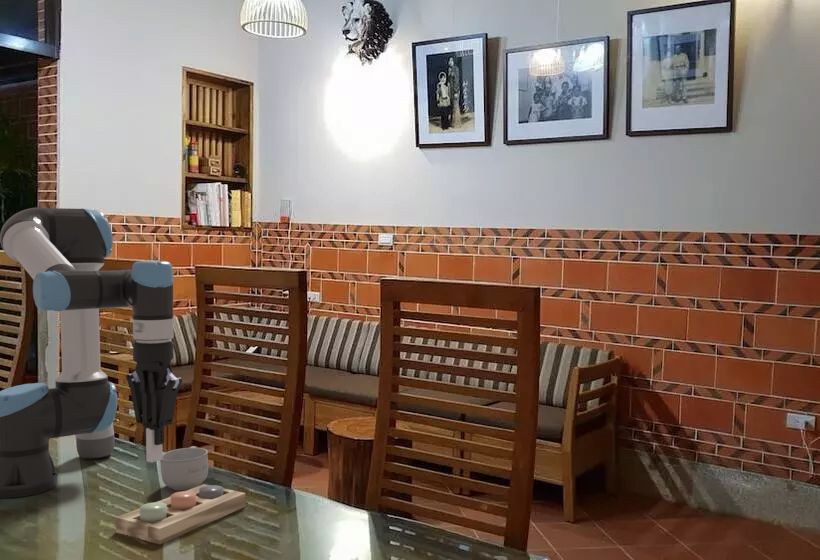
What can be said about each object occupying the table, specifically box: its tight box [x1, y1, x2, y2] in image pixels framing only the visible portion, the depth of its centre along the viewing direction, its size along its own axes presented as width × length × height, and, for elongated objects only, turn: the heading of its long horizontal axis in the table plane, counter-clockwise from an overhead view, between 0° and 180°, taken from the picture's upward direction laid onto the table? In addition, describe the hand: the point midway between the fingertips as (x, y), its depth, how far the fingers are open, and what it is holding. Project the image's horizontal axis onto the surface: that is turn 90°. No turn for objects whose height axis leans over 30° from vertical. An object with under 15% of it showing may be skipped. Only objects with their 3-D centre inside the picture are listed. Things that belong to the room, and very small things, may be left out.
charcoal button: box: [199, 484, 224, 500], centre depth 165 cm, size 5×5×3 cm
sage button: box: [139, 501, 167, 524], centre depth 151 cm, size 5×5×3 cm
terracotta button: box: [170, 490, 196, 511], centre depth 158 cm, size 5×5×3 cm
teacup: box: [159, 445, 209, 491], centre depth 180 cm, size 14×11×8 cm
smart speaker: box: [75, 421, 116, 461], centre depth 203 cm, size 10×9×14 cm
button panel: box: [115, 483, 246, 545], centre depth 158 cm, size 12×24×3 cm, turn 151°
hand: (154, 460), depth 150 cm, fingers closed
